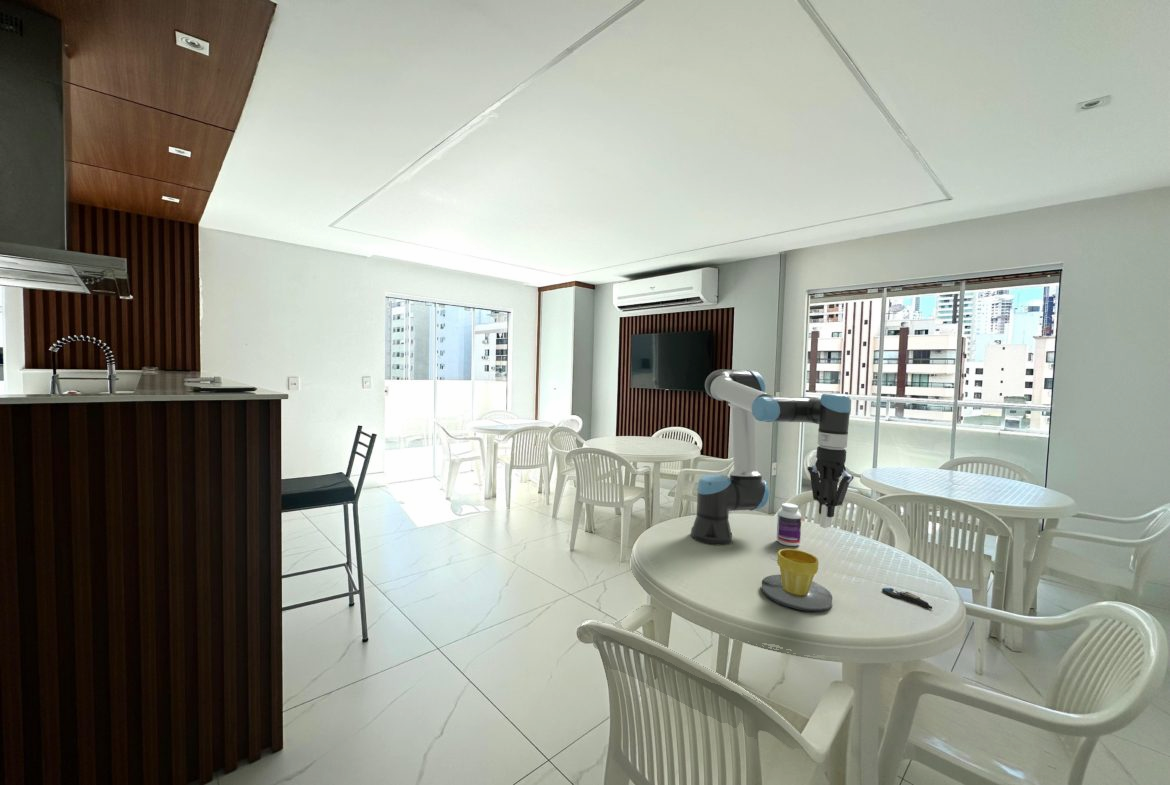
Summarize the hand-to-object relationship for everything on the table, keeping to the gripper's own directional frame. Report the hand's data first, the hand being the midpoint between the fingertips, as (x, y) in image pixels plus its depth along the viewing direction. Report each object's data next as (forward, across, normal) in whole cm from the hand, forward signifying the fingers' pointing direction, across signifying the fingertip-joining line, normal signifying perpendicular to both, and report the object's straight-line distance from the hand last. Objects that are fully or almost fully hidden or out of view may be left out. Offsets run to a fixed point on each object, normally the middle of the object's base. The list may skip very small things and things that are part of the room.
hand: (825, 526), depth 131 cm
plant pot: (+16, +1, -13) cm, 21 cm away
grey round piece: (+18, -1, -10) cm, 20 cm away
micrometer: (+19, +15, +16) cm, 29 cm away
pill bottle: (+19, -28, +22) cm, 40 cm away
